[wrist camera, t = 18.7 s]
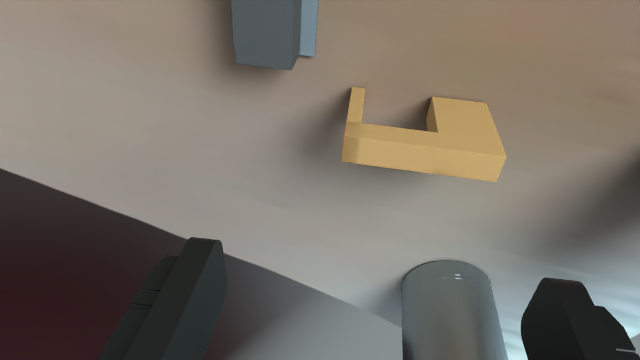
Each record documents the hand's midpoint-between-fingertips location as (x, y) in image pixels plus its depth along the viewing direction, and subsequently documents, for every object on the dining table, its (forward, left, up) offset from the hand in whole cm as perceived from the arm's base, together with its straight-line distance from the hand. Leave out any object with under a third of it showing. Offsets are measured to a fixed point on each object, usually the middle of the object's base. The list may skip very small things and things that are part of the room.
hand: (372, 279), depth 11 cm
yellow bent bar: (-6, -3, -22) cm, 23 cm away
